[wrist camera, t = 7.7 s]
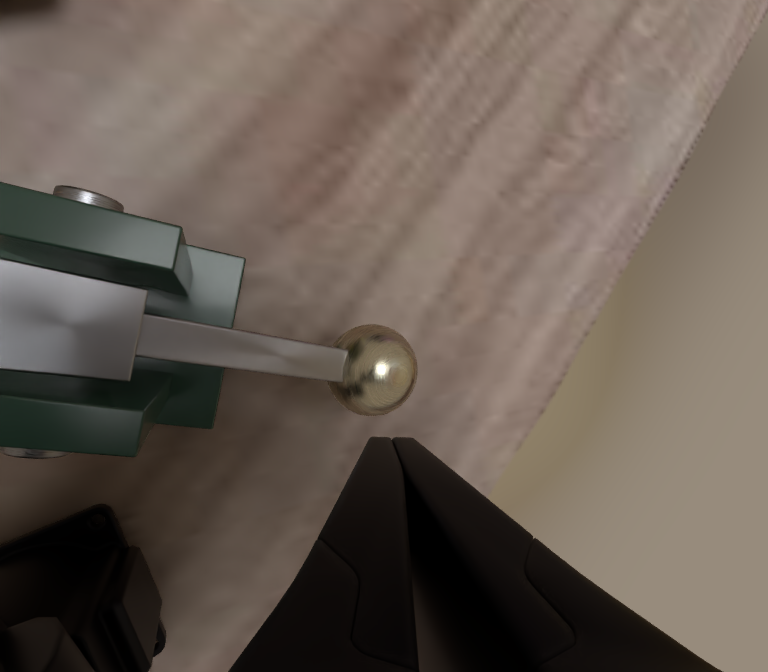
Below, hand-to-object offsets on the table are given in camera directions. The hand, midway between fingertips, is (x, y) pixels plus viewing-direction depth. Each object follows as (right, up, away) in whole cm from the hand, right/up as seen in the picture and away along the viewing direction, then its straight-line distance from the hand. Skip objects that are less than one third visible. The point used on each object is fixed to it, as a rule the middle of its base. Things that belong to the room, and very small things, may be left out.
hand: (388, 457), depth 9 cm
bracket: (-10, +3, +9) cm, 14 cm away
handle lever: (-5, +2, +6) cm, 8 cm away
